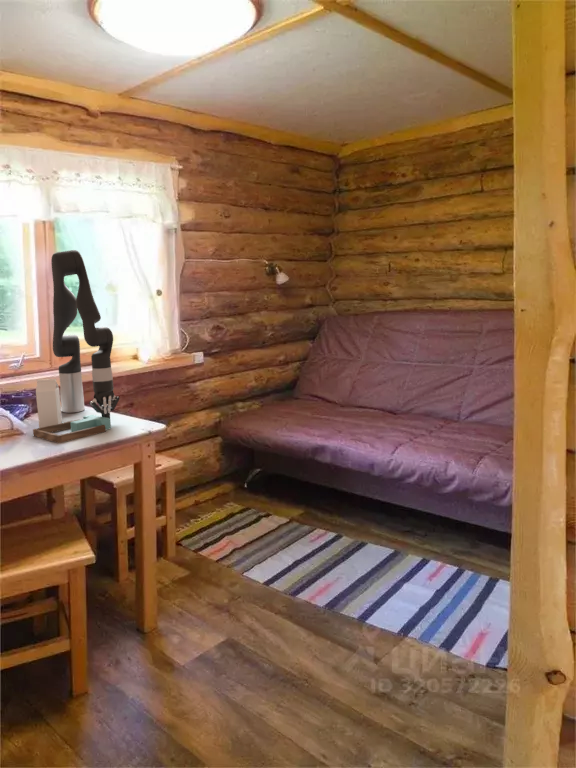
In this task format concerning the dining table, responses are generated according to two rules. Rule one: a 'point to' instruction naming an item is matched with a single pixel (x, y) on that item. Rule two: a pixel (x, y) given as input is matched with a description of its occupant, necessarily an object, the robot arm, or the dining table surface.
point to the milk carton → (48, 402)
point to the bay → (49, 435)
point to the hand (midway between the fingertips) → (106, 422)
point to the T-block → (90, 422)
